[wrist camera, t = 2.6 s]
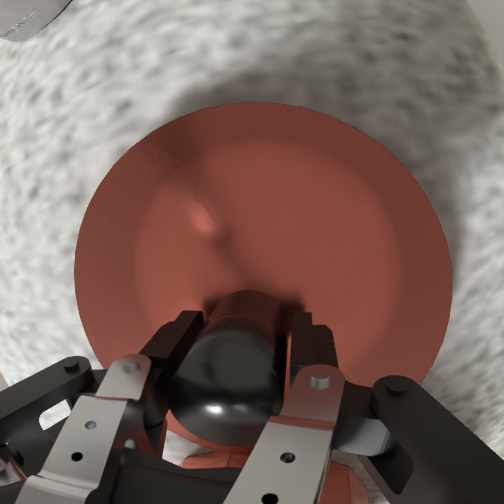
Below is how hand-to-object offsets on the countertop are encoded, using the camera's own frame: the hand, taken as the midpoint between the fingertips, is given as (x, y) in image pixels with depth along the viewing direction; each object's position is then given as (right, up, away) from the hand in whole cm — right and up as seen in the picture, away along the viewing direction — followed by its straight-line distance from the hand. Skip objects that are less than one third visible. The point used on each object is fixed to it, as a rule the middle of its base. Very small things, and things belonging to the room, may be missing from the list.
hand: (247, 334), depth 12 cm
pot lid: (+1, +1, +3) cm, 3 cm away
